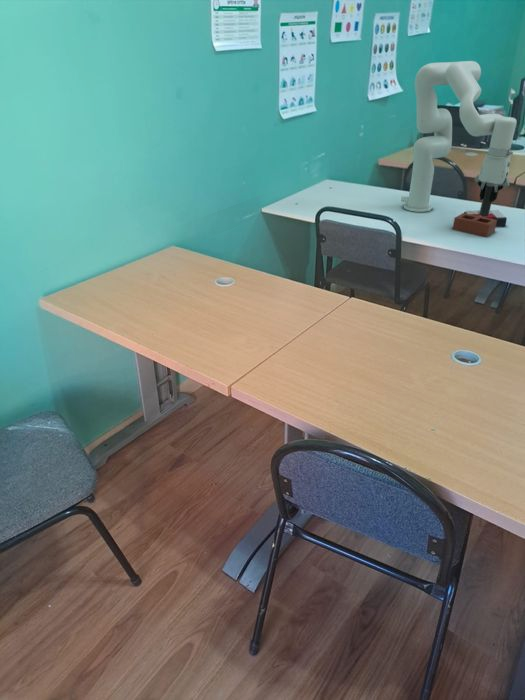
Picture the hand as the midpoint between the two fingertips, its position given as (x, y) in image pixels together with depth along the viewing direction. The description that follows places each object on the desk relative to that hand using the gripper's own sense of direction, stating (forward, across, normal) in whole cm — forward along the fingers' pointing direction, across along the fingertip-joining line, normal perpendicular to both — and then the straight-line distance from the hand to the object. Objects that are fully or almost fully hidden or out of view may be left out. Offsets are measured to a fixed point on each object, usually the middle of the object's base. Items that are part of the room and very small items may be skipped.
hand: (487, 199), depth 207 cm
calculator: (+14, +4, -13) cm, 19 cm away
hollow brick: (+13, +3, 0) cm, 14 cm away
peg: (+6, 0, 0) cm, 6 cm away
